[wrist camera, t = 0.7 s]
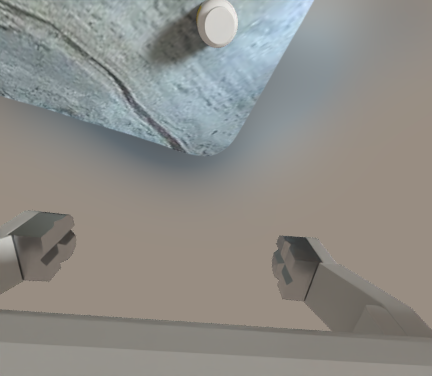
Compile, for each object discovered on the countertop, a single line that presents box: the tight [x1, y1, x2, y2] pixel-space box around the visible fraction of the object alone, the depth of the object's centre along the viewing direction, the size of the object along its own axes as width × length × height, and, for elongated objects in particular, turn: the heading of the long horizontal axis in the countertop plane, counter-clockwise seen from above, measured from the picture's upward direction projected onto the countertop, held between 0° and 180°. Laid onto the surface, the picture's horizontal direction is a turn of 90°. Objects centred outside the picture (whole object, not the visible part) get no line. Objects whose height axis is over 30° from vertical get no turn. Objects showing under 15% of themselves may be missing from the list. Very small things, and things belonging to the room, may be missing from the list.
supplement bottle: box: [196, 0, 238, 48], centre depth 40 cm, size 7×7×13 cm
